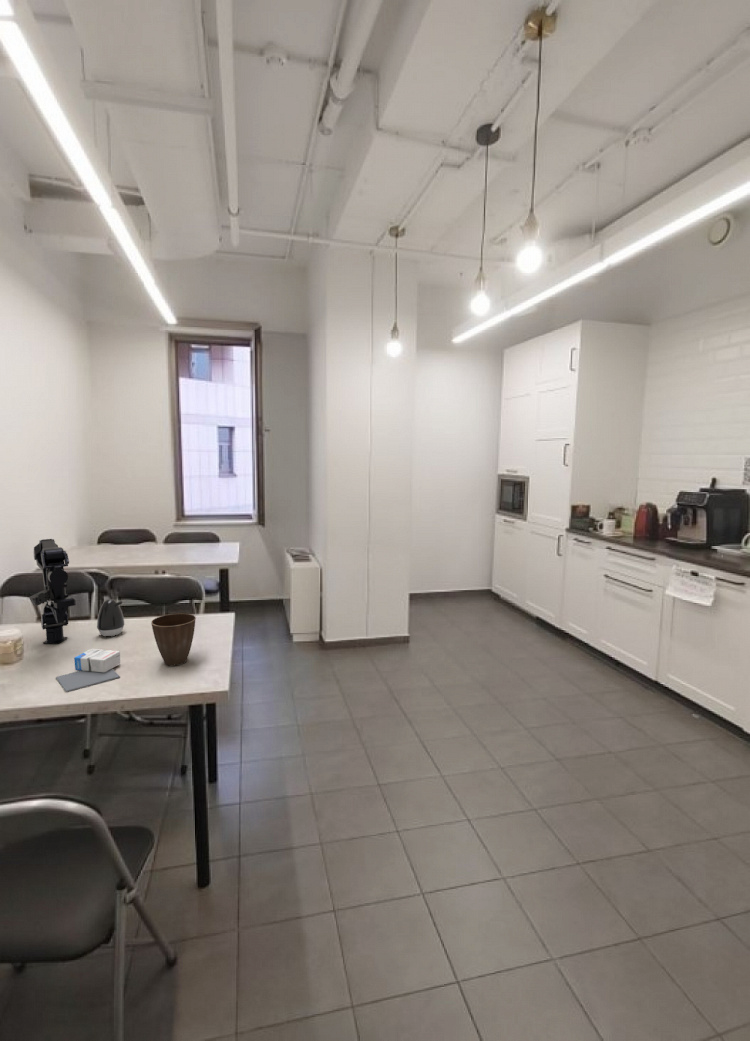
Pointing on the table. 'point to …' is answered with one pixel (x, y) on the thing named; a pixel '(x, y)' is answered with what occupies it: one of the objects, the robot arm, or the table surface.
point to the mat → (85, 679)
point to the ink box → (97, 660)
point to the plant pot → (174, 637)
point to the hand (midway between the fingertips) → (59, 623)
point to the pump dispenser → (110, 618)
